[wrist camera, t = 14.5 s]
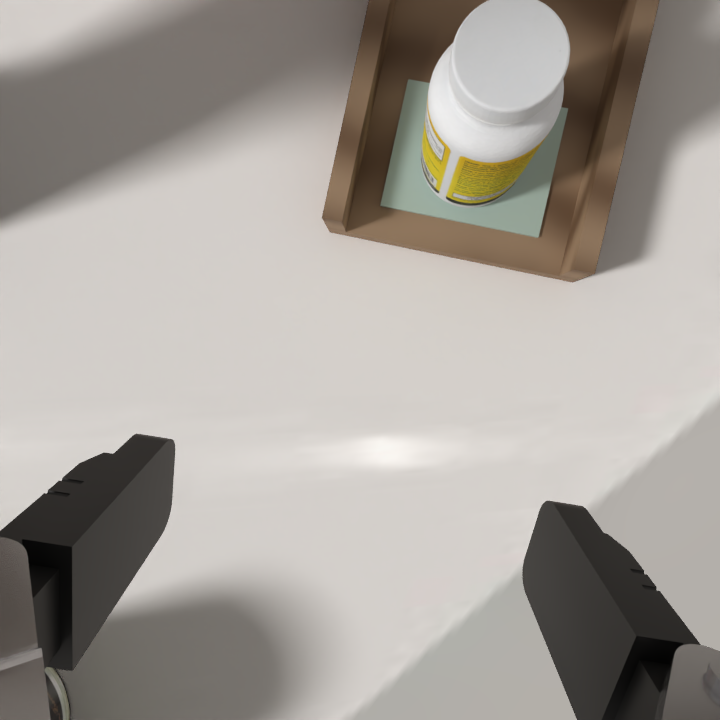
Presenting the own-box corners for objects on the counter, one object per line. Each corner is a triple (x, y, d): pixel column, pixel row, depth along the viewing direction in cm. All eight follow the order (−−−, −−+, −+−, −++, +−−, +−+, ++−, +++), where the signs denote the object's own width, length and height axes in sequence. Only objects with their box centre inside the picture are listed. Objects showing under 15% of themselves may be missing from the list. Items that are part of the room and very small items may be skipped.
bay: (572, 282, 31) (614, 266, 25) (330, 232, 32) (314, 205, 26) (653, -64, 31) (716, -165, 25) (402, -104, 32) (404, -210, 26)
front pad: (537, 237, 30) (538, 237, 30) (380, 206, 31) (380, 205, 31) (567, 110, 30) (568, 108, 30) (408, 81, 31) (408, 79, 31)
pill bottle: (540, 146, 30) (625, 28, 19) (481, 230, 31) (530, 161, 19) (457, 90, 30) (493, -57, 19) (399, 173, 31) (402, 75, 20)
